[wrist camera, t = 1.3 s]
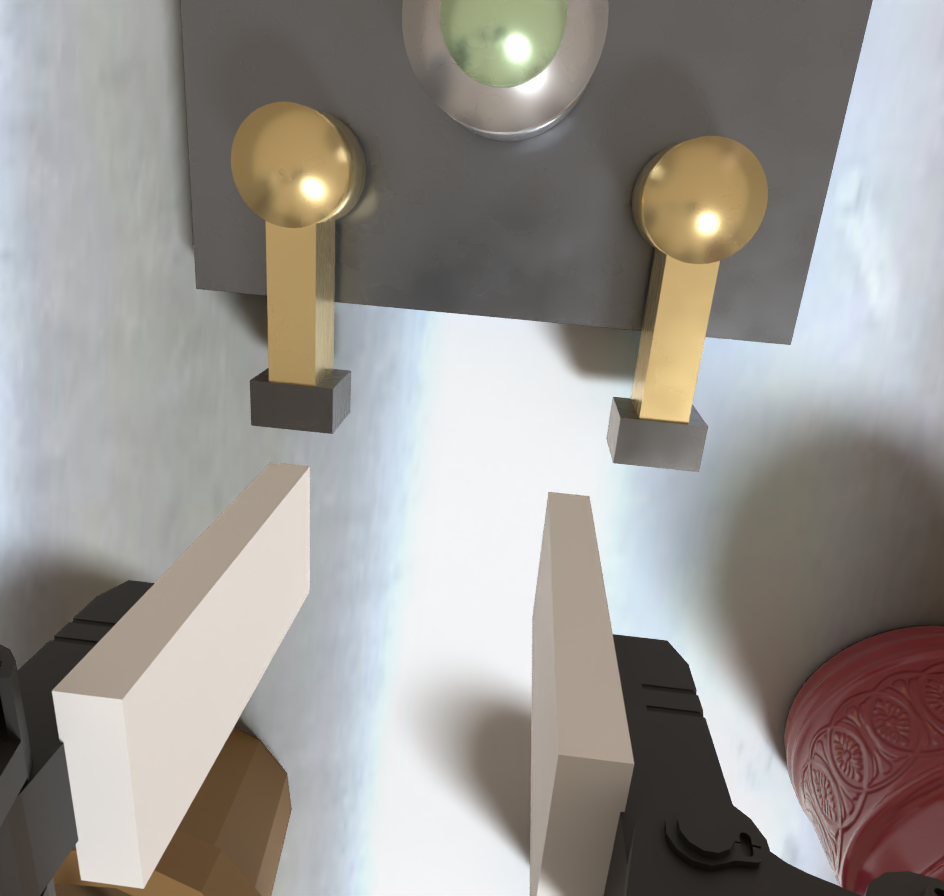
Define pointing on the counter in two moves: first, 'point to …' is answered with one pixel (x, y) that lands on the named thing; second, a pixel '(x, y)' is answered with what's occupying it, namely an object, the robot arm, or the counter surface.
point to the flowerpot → (215, 833)
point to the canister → (874, 756)
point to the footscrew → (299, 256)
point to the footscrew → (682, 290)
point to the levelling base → (525, 143)
